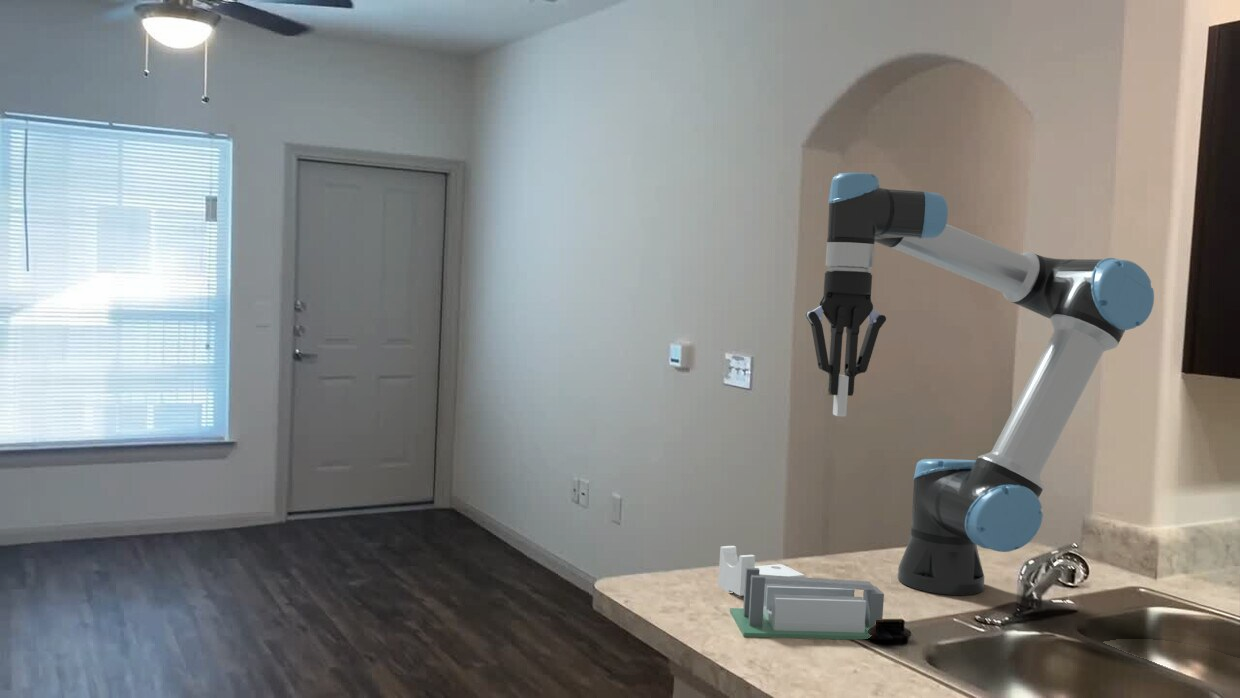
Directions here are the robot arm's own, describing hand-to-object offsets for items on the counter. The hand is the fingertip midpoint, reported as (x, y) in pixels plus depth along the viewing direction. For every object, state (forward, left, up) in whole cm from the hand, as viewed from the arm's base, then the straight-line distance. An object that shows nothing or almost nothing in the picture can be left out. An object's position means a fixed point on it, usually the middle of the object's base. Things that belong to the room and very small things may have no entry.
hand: (839, 415), depth 174 cm
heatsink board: (+5, +8, -32) cm, 34 cm away
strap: (+5, +8, -26) cm, 28 cm away
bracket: (+9, -10, -33) cm, 36 cm away
